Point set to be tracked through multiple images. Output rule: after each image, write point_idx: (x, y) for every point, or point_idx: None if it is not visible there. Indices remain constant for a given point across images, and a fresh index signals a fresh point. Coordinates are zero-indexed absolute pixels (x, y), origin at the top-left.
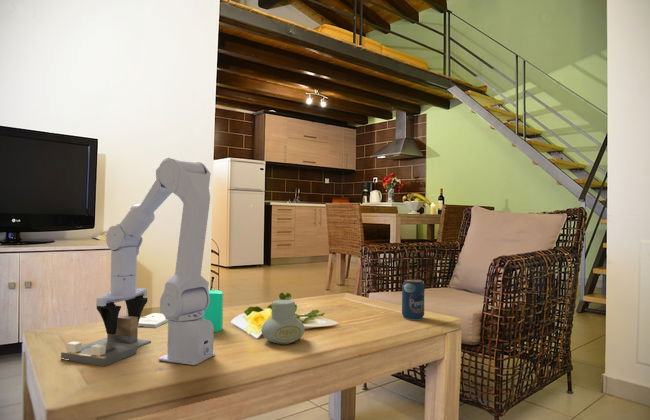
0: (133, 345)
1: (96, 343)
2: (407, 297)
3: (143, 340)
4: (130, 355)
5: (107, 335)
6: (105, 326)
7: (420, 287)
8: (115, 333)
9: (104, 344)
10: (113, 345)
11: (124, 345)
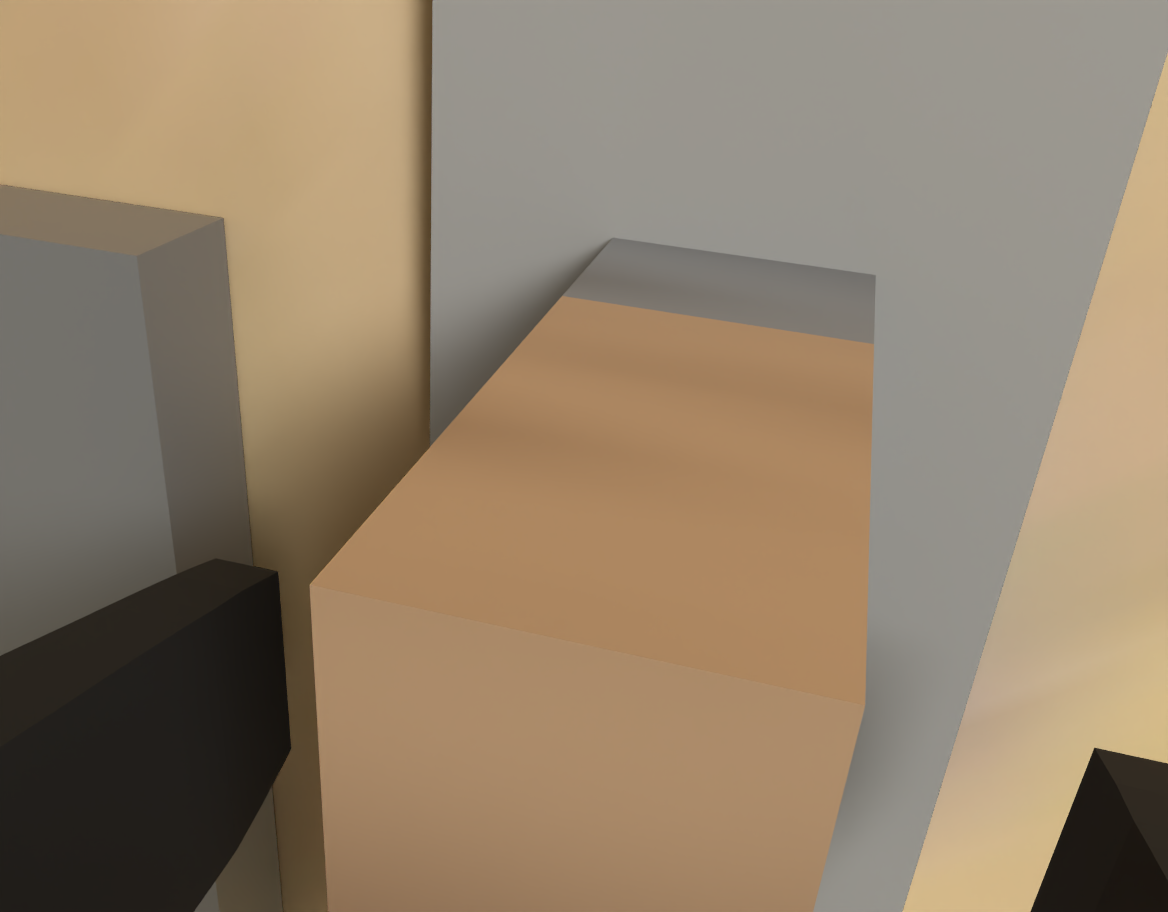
0: None
1: (59, 399)
2: None
3: (850, 910)
4: None
5: (572, 287)
6: (38, 657)
7: None
8: (281, 758)
9: (94, 587)
10: None
11: (216, 900)
